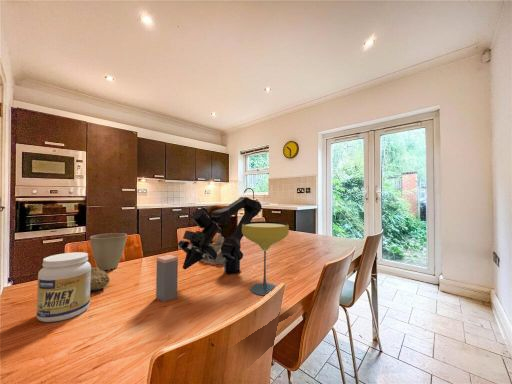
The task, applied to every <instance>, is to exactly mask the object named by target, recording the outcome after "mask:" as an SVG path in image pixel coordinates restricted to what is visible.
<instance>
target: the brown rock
mask: <svg viewBox="0 0 512 384" xmlns="http://www.w3.org/2000/svg"><path fill="white" fill-rule="evenodd" d="M110 280H111V279H110V276H109V274H108V273H106V271H103V270H100V269H98V267H95V266H91V281H90V291H94V290H95V291H96V290H100V289H103V288H106V287H107V286H108V284H109V282H110Z"/></svg>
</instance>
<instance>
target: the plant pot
mask: <svg viewBox="0 0 512 384" xmlns="http://www.w3.org/2000/svg"><path fill="white" fill-rule="evenodd" d="M127 237H128V234H127V233H120V232H118V233H117V232H115V233H114V232H110V233H100V234H95V235H91V236H89V241H90V247H91V251H92V255H93V259H94V262H95V265H96V268H98V269H100V270H103V271H104V272H106V271H105V270H108V271H112V270H111V269H113V270H115V269H114V268H116V269H117V268H118V266H119V264H120V261H121V259H122V256H123V254H124V250H125V246H126V242H127Z"/></svg>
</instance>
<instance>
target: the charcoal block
mask: <svg viewBox="0 0 512 384" xmlns="http://www.w3.org/2000/svg"><path fill="white" fill-rule="evenodd" d="M178 265H179V257H178V256H176V255H173V254H167V255H162V256H161V255H160V256H157V257H156V273H155V274H156V275H155V277H156V282H155V284H156V285H155V298H156V299H157V300H159V301H161V302H163V303H166V302H168V301H170V300H172V299H173V300H174V299H175V298H178V277H179V276H178V274H179V273H178V270H179V269H178V268H179V266H178Z"/></svg>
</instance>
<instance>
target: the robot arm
mask: <svg viewBox="0 0 512 384" xmlns="http://www.w3.org/2000/svg"><path fill="white" fill-rule="evenodd" d="M241 209H243V211H244V212H243V215H242V217H241V219H240V220H239V222H238V224H237V226H236V228H234V229H235V230H234V231H233V233H232V235H231V236H230V237H227V236H226V237H224V242H223V243H222V246H221V253H222V256H223V258H225V262H224V264H223V270H224V272H225V273H226V274H228V275H232V274H237V273H241V272H242V270H241V260H242V259H243V257H244V253H243V252H242V251H241V247H242V245H241V241H242V239H243V238H244V235H243V234H242V224H243V223H246V222H252V220H253V218H255V217H257V216H258V215H259V214H260V212H261V211H262V209H263V208H262V204H261V202H260V201H256V200H255V199H252V198H250V197H247V196H240V197H239V198H238V199H236V200H235V201H233V202H232V203H231V204H228V205H227V206H226V207H223V208H220V209H219V208H218V209H217V210H213V211H211V213H209V212H208V210H207V208H206V207H205V206H203V207H201V208H199V209H197V210H195V211H194V212H193V213H192V214H191V217H190V219H192V221H193V222H194V223H195V224H196V225H197V226H198V228H199V229H202V230H196V231H191V230H185V231H184V234H183V237H182V240H179V242H178V243H177V246H178V248H180V250H182V251H183V252H184V253H186V254H185V258H184V262H183V265H182V269H183V270H187V269H189V268H190V267H193V265H194V264H197V263H199V262H201V261H200V260H202V259H204V256H205V254H207V255H210V256H209V259H211V260H215V259H216V258H217V252H216V251H215V250H214V249H213V248H212V247H211V246H208V245H209V244H212V243H214V242H213V239H215V237H216V234H219V233H221V234H222V233H223V231H222V225H223V226H224V225H226V224H227V223H228V222H229V221H230V220H231V218H232V216H233V215H234V214H236V213H237V212H239V211H240V210H241ZM219 225H221V226H219ZM183 239H184V240H183Z"/></svg>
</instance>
